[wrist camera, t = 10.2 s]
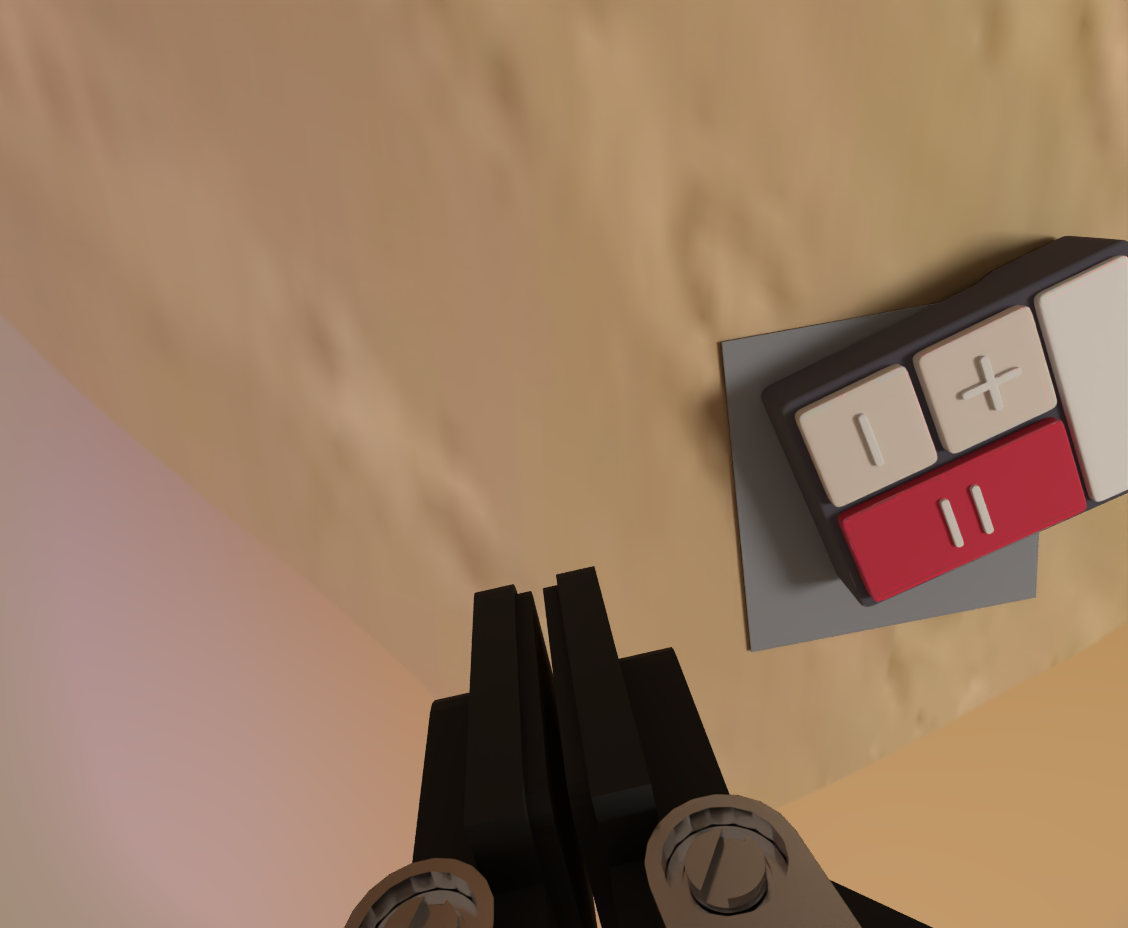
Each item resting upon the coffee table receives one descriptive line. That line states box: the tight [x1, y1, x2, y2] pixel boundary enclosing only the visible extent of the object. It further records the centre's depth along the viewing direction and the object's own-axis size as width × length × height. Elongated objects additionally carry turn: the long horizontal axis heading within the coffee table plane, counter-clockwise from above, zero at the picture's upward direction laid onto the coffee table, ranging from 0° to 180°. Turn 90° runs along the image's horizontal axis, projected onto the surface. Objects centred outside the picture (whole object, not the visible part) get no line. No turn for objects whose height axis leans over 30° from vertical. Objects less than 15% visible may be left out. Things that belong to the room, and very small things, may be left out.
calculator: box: [761, 236, 1128, 607], centre depth 33 cm, size 11×4×15 cm
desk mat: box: [721, 303, 1039, 652], centre depth 36 cm, size 16×15×1 cm
